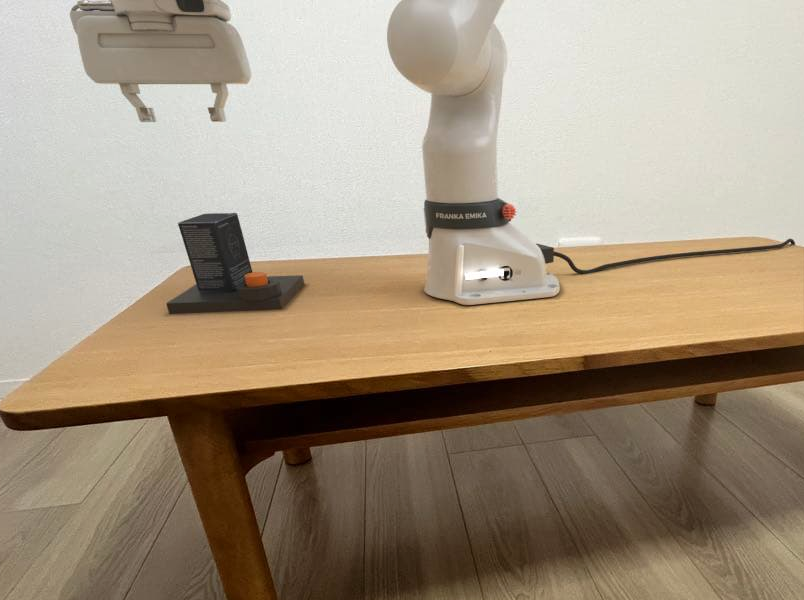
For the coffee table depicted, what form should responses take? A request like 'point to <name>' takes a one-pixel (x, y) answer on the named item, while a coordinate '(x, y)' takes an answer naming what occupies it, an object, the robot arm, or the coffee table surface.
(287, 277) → the scale
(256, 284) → the button
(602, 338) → the coffee table surface
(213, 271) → the box
